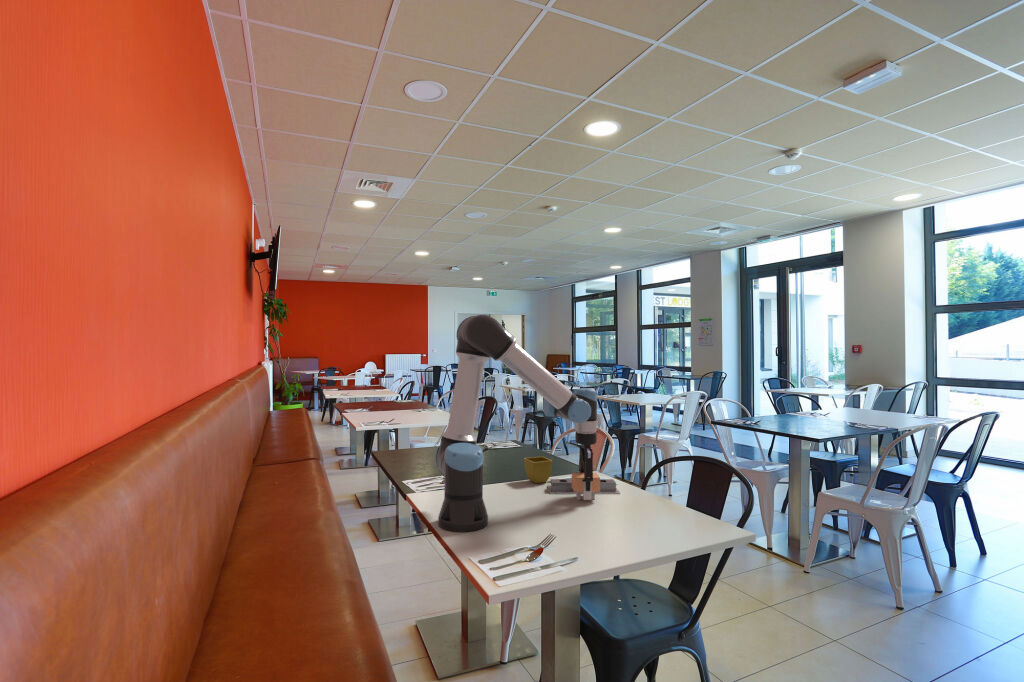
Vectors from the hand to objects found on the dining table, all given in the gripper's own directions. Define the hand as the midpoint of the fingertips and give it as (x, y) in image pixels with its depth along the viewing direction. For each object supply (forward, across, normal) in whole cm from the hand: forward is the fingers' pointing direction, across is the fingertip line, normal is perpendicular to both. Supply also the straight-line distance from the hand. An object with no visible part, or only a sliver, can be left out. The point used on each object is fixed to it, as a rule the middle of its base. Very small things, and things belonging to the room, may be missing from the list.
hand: (585, 496), depth 185 cm
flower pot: (+1, +23, +15) cm, 27 cm away
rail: (+1, +11, -1) cm, 11 cm away
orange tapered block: (+1, 0, 0) cm, 1 cm away
